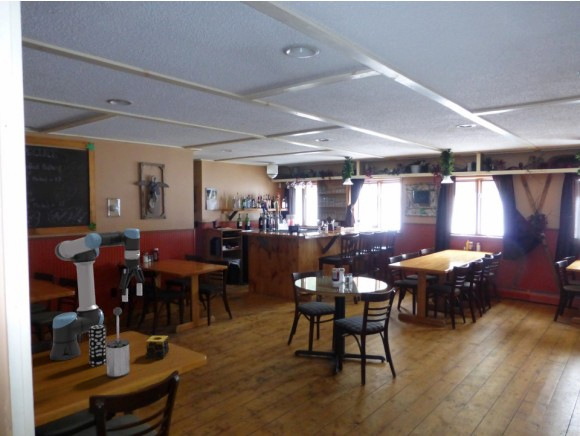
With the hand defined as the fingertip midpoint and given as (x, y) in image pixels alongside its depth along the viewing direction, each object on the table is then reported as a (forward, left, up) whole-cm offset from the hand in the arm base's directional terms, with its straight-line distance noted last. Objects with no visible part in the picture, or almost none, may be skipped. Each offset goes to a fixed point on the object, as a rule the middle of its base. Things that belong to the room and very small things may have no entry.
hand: (132, 298), depth 221 cm
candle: (+4, +17, -37) cm, 41 cm away
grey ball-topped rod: (-2, -10, -27) cm, 29 cm away
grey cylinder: (-2, -9, -36) cm, 37 cm away
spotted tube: (-21, -1, -37) cm, 42 cm away
